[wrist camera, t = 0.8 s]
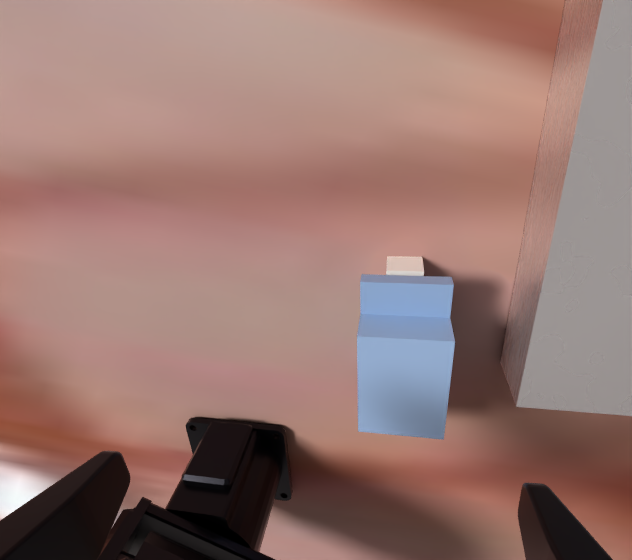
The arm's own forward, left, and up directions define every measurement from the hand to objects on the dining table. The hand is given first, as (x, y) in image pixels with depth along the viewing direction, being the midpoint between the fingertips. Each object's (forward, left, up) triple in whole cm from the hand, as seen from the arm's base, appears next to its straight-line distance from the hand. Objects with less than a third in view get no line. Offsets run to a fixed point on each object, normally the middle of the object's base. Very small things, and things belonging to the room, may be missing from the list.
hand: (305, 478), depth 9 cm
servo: (-4, -2, -12) cm, 13 cm away
